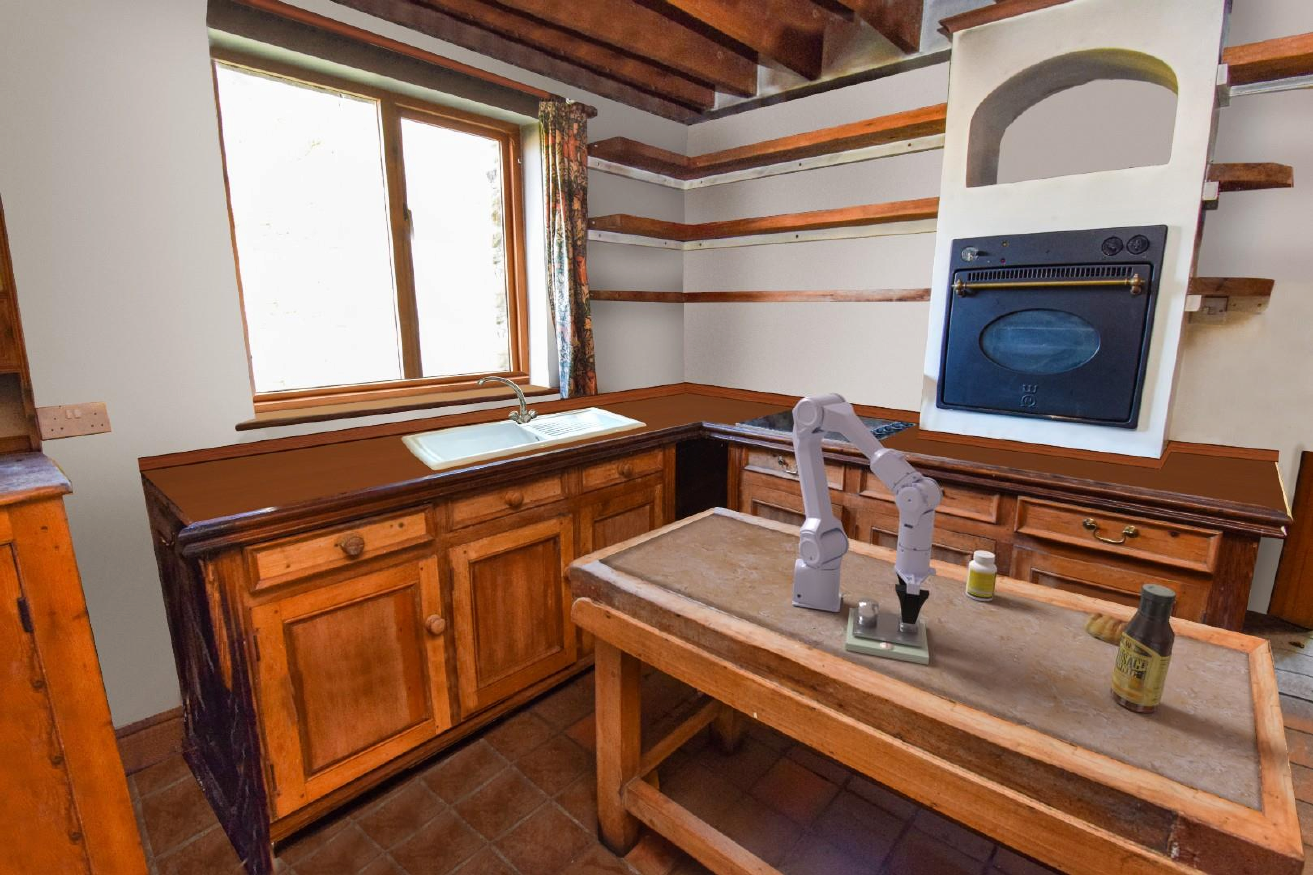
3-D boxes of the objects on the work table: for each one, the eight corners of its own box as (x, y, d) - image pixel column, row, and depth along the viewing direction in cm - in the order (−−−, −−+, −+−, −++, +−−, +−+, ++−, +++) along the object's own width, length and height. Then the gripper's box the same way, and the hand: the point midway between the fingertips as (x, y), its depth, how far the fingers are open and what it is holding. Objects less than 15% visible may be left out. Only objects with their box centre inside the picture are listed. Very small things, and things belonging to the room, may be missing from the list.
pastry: (1153, 645, 114) (1156, 626, 113) (1138, 657, 110) (1141, 637, 109) (1095, 623, 122) (1098, 606, 121) (1080, 634, 118) (1083, 616, 117)
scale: (845, 649, 112) (845, 641, 112) (849, 613, 125) (849, 606, 125) (928, 664, 108) (929, 656, 107) (923, 625, 121) (924, 617, 120)
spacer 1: (857, 624, 117) (858, 605, 116) (857, 615, 120) (859, 596, 119) (877, 627, 115) (878, 608, 114) (877, 618, 119) (878, 599, 118)
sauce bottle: (1099, 691, 100) (1118, 579, 96) (1135, 689, 101) (1155, 577, 96) (1133, 718, 94) (1155, 598, 89) (1171, 715, 94) (1195, 597, 90)
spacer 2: (899, 631, 114) (901, 612, 113) (896, 622, 117) (898, 603, 116) (920, 634, 113) (921, 614, 112) (916, 624, 116) (918, 605, 116)
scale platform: (851, 639, 114) (852, 632, 114) (854, 614, 123) (854, 607, 123) (921, 651, 110) (922, 644, 110) (918, 624, 119) (919, 617, 119)
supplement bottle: (997, 603, 129) (1002, 560, 127) (969, 600, 130) (974, 557, 128) (988, 591, 135) (994, 549, 132) (962, 589, 136) (967, 547, 134)
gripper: (941, 563, 104) (934, 636, 107) (935, 533, 117) (928, 598, 120) (897, 557, 106) (890, 629, 109) (895, 528, 119) (890, 593, 122)
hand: (907, 612), depth 115 cm, fingers open, 7 cm apart
